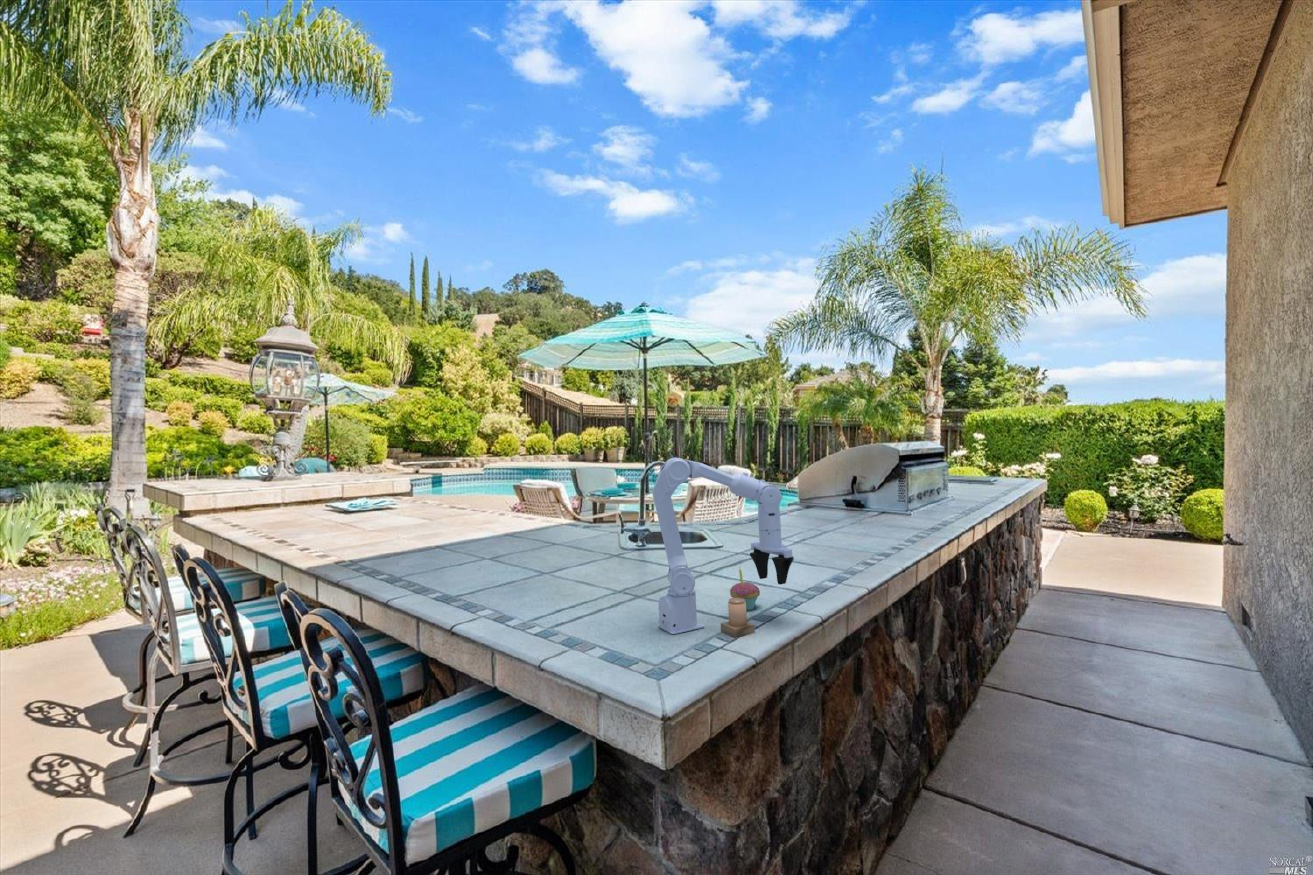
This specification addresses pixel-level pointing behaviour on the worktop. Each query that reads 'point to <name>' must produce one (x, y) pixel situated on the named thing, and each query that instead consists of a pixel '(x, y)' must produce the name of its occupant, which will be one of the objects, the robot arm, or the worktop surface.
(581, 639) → the worktop surface
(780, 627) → the worktop surface
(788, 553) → the robot arm
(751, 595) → the cupcake
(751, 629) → the base
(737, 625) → the jar
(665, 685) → the worktop surface
